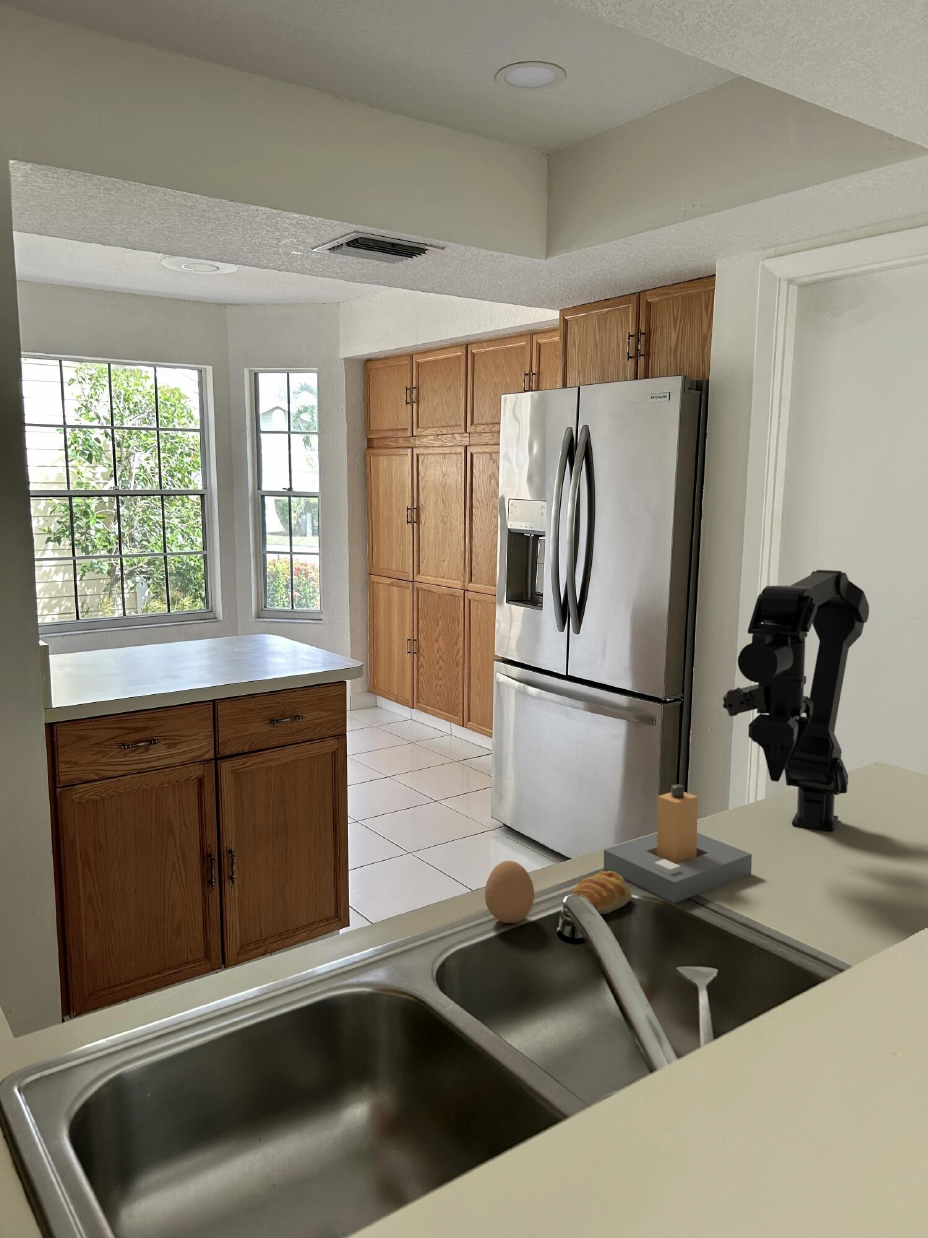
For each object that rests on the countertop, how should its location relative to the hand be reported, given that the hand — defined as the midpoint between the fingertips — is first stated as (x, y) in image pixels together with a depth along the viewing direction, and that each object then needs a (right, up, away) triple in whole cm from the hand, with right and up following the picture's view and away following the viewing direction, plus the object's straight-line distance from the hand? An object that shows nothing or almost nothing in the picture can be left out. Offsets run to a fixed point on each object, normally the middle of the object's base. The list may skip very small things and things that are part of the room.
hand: (780, 772), depth 137 cm
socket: (-17, -14, -3) cm, 22 cm away
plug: (-17, -14, -3) cm, 22 cm away
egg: (-42, -17, -18) cm, 48 cm away
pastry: (-29, -16, -13) cm, 36 cm away
